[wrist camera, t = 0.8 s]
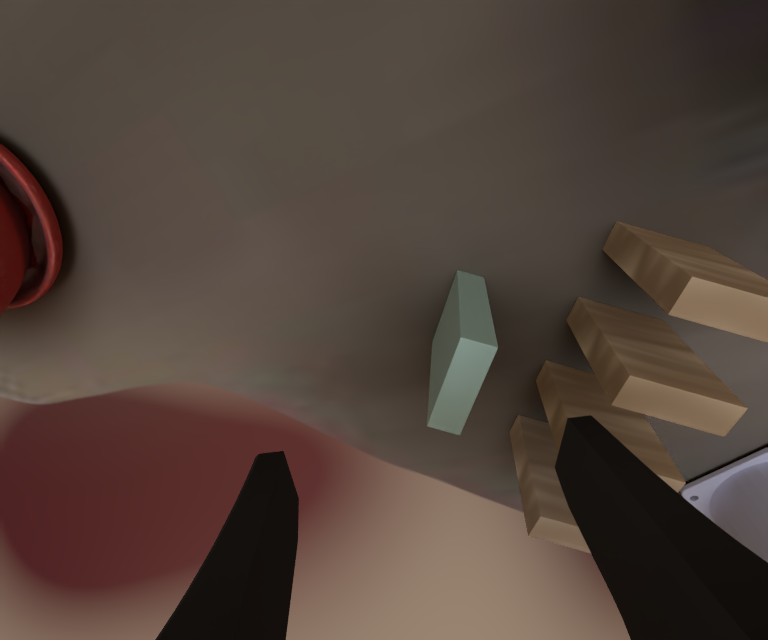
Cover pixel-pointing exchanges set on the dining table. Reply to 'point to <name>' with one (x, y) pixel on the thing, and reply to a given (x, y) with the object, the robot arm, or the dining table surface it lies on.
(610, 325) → the domino
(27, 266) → the plant pot
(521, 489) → the domino
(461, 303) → the teal domino
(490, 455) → the dining table surface
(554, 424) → the domino
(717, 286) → the domino
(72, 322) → the dining table surface
